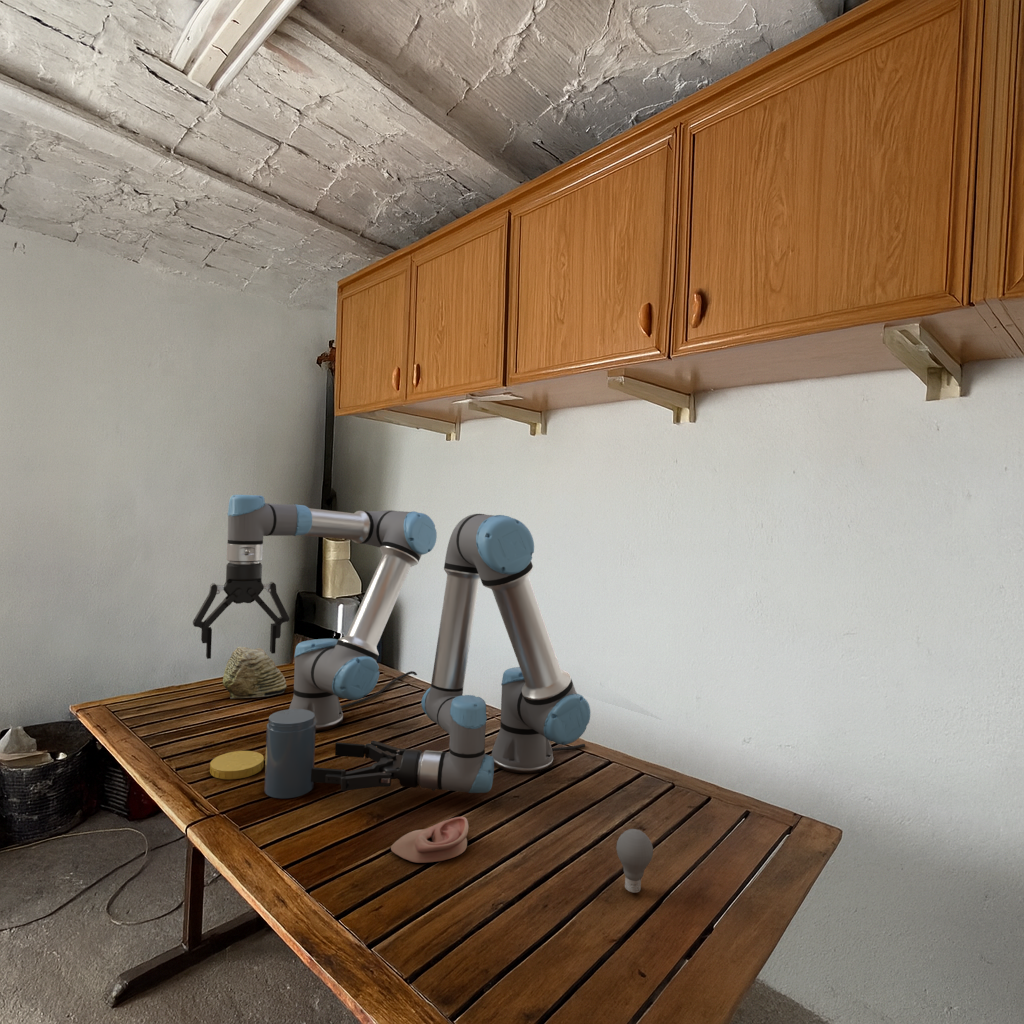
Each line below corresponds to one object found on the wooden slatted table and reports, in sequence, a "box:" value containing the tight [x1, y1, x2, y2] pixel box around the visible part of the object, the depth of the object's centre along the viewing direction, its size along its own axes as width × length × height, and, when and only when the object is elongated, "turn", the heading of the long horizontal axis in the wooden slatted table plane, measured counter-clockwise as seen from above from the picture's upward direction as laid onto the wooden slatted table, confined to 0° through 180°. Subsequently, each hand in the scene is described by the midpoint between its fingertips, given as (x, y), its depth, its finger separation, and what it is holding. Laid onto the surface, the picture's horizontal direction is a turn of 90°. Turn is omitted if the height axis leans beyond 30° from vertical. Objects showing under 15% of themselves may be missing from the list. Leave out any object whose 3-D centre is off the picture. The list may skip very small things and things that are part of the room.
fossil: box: [222, 646, 288, 699], centre depth 198 cm, size 9×18×15 cm, turn 132°
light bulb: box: [615, 828, 654, 894], centre depth 106 cm, size 6×6×10 cm
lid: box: [209, 750, 265, 780], centre depth 145 cm, size 11×11×2 cm
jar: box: [263, 708, 317, 799], centre depth 137 cm, size 10×10×16 cm
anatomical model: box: [390, 816, 469, 864], centre depth 116 cm, size 13×4×12 cm
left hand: (241, 654), depth 145 cm, fingers open, 13 cm apart
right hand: (324, 761), depth 137 cm, fingers open, 13 cm apart
